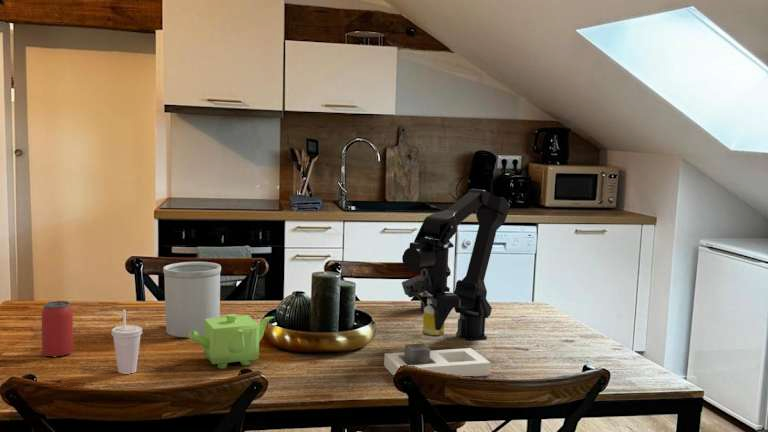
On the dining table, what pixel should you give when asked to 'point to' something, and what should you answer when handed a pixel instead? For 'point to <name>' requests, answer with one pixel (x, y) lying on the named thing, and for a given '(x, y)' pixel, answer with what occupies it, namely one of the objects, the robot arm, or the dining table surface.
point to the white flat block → (445, 362)
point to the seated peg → (416, 354)
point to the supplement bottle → (431, 323)
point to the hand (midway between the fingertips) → (433, 326)
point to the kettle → (231, 339)
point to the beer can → (57, 328)
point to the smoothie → (126, 346)
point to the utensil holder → (191, 296)
